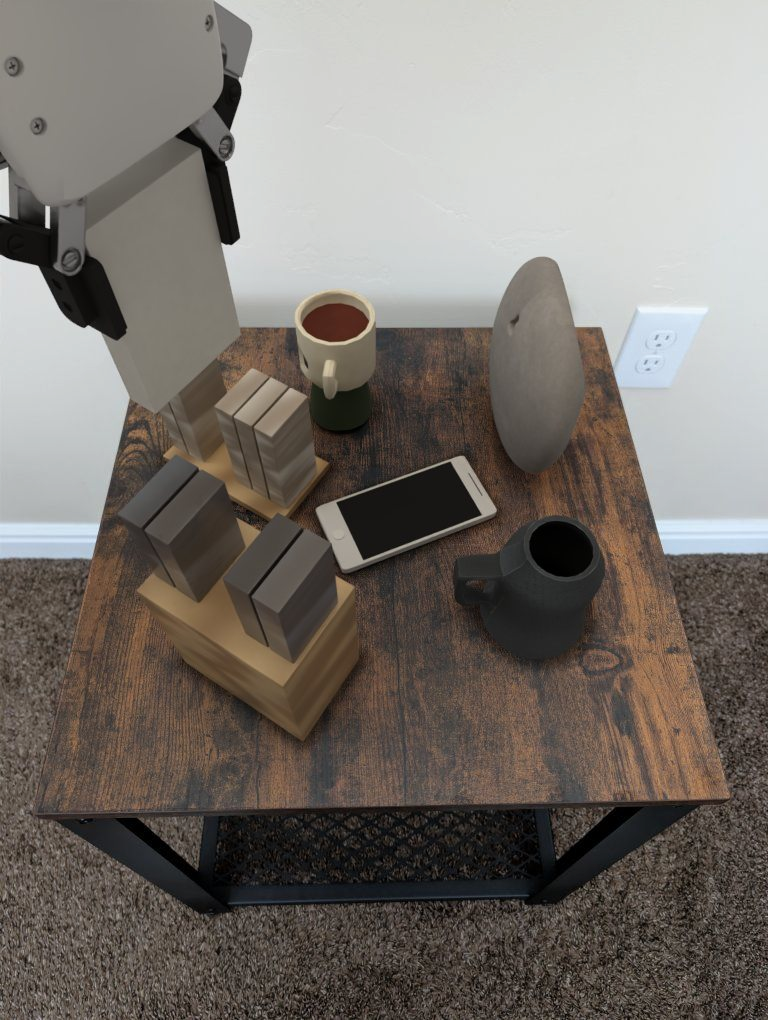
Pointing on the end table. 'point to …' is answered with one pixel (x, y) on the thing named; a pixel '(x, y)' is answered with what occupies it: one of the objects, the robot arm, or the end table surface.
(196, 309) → the grey flat block
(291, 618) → the wooden stand
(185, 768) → the end table surface
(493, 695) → the end table surface
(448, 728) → the end table surface
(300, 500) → the grey-brown wooden block stand
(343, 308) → the character mug
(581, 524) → the mug
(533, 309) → the grey oval stone
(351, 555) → the smartphone
